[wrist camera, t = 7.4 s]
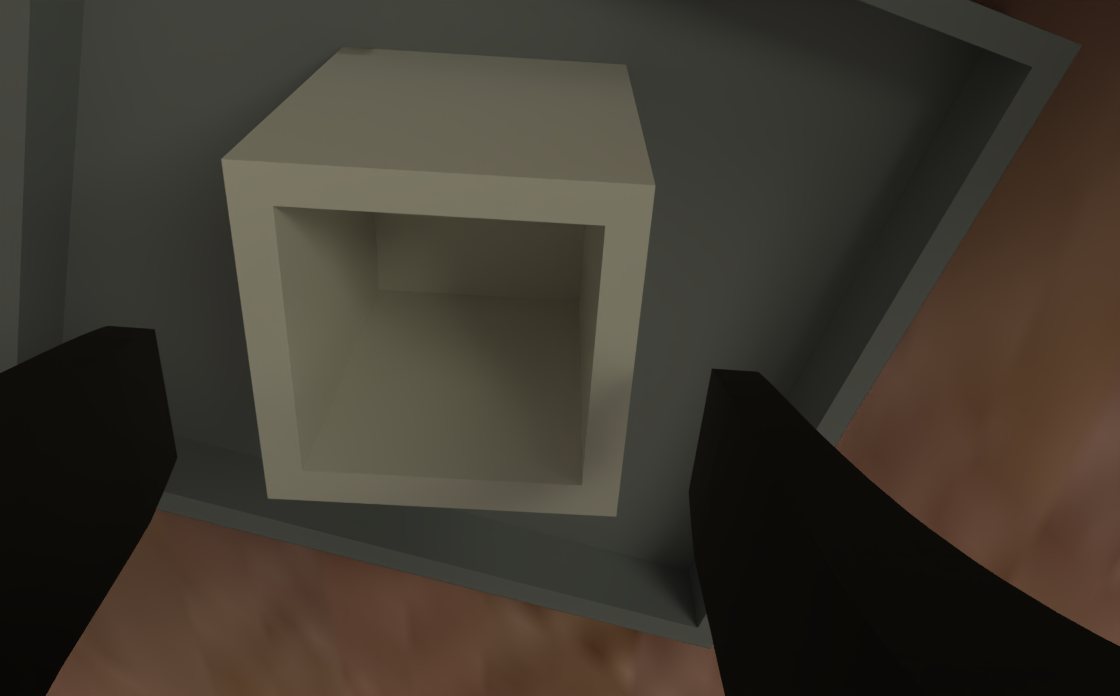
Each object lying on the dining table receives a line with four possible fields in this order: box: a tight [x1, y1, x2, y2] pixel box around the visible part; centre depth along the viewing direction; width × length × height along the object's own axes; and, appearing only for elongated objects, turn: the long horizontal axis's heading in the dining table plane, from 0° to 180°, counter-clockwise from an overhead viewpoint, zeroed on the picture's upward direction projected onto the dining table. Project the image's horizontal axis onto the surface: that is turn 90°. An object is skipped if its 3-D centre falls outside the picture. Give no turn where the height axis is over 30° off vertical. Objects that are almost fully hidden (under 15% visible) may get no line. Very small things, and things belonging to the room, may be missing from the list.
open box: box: [221, 47, 655, 517], centre depth 16 cm, size 6×6×7 cm
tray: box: [0, 0, 1082, 649], centre depth 19 cm, size 18×16×3 cm
